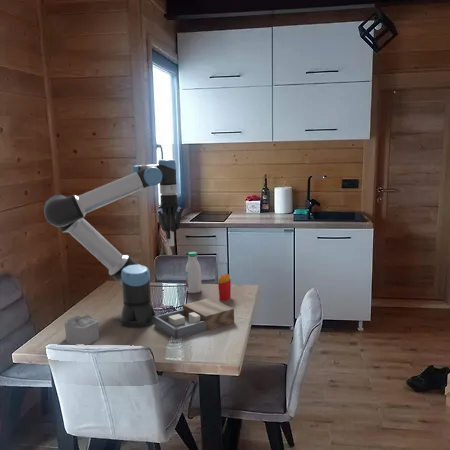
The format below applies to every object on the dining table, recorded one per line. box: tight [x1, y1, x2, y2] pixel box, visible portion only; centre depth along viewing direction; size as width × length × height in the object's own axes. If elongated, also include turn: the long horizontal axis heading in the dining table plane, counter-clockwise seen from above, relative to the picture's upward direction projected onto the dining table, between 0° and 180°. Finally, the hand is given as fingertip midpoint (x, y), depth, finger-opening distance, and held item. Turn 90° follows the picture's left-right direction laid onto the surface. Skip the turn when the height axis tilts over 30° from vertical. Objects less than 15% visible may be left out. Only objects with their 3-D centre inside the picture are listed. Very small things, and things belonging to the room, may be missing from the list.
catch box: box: [153, 308, 207, 340], centre depth 202 cm, size 14×18×4 cm
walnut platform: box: [182, 297, 235, 331], centre depth 210 cm, size 14×18×6 cm
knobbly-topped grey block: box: [64, 314, 100, 346], centre depth 194 cm, size 10×13×9 cm
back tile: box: [169, 314, 185, 326], centre depth 206 cm, size 5×5×2 cm
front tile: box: [189, 312, 200, 325], centre depth 201 cm, size 5×5×2 cm
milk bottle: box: [185, 251, 203, 294], centre depth 249 cm, size 8×8×20 cm
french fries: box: [217, 273, 232, 302], centre depth 236 cm, size 8×4×12 cm, turn 148°
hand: (171, 245), depth 225 cm, fingers closed
